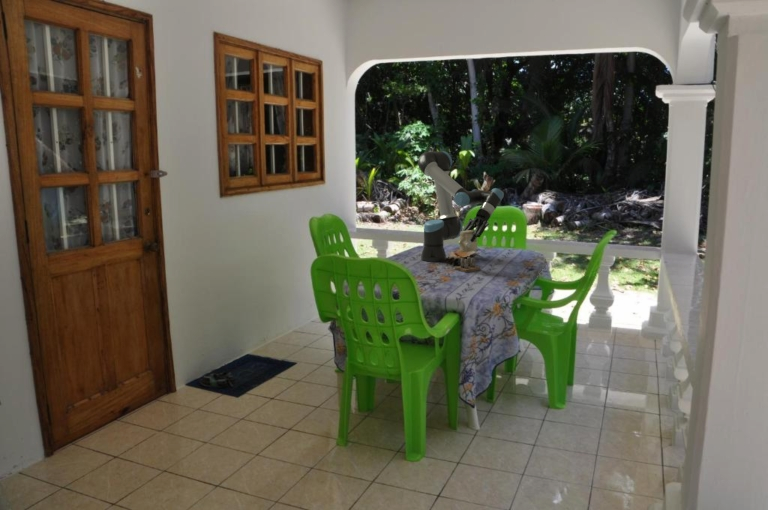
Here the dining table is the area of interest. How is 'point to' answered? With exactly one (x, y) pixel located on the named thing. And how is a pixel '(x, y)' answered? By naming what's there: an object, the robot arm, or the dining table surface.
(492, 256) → the dining table surface
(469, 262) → the stand
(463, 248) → the beige mottled block
